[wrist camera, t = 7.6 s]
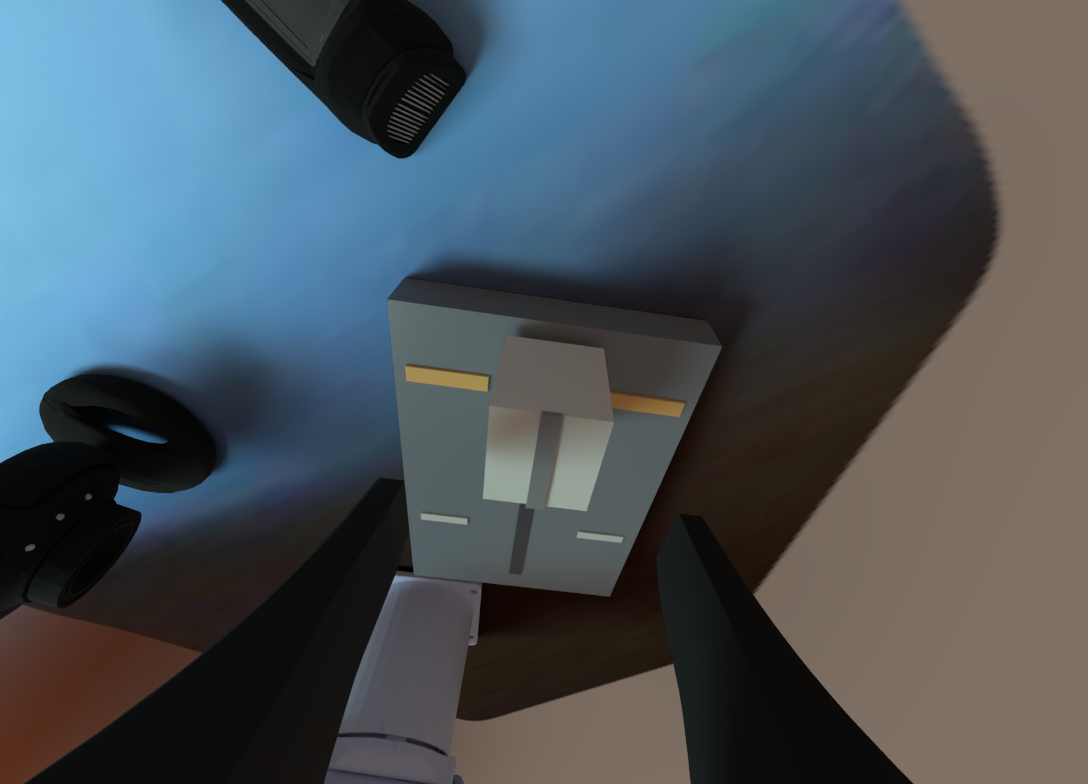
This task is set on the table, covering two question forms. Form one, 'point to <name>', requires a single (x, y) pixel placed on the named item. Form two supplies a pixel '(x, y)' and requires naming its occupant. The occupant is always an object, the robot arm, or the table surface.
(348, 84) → the electric trimmer
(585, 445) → the fader
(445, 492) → the console
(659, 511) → the table surface
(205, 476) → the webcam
